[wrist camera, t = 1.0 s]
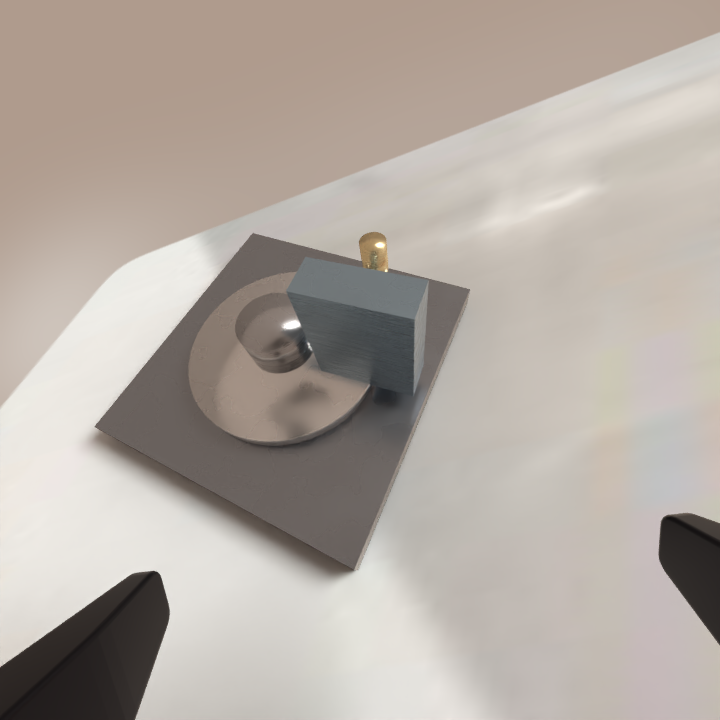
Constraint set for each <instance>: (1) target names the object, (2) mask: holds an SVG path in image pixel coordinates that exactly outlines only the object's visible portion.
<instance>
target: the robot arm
mask: <svg viewBox="0 0 720 720" xmlns="http://www.w3.org/2000/svg"><path fill="white" fill-rule="evenodd" d="M659 560H660V562H661V565H662V567H663V569H664V571H665V572H666V573H667V575H668V576H669V578H670V579H671V580H672V582H673V583H674V584H675V586H676V587H677V588H678V590H679V591H680V592H681V594H682V595H683V596H684V598H685V599H686V600H687V602H688V603H689V604H690V606H691V607H692V609H693V610H694V611H695V613H696V614H697V615H698V617H699V618H700V619H701V621H702V622H703V623H704V625H705V626H706V627H707V629H708V630H709V631H710V633H711V634H712V635H713V637H714V638H715V639H716V641H717V642H718V644H719V645H720V523H717V522H715V521H712V520H709V519H706V518H703V517H700V516H698V515H695V514H691V513H681V514H672V515H667V516H665V517H663V519H662V520H661V527H660V540H659ZM169 615H170V610H169V604H168V601H167V597H166V593H165V590H164V586H163V582H162V578H161V576H160V574H159V573H158V572H156V571H148V572H139V573H134V574H132V575H130V576H128V577H127V578H126V579H124V580H123V581H121V582H120V583H118V584H117V585H116V586H114V587H113V588H111V589H110V590H109V591H107V592H106V593H104V594H103V595H102V596H100V597H99V598H97V599H96V600H94V601H93V602H92V603H90V604H89V605H87V606H86V607H85V608H83V609H82V610H80V611H79V612H78V613H76V614H75V615H73V616H72V617H70V618H69V619H68V620H66V621H65V622H63V623H62V624H61V625H59V626H58V627H56V628H55V629H54V630H52V631H51V632H49V633H48V634H46V635H45V636H44V637H42V638H41V639H39V640H38V641H37V642H35V643H34V644H32V645H31V646H30V647H28V648H27V649H25V650H24V651H22V652H21V653H20V654H18V655H17V656H15V657H14V658H13V659H11V660H10V661H8V662H7V663H6V664H4V665H3V666H1V667H0V720H135V718H136V715H137V713H138V710H139V707H140V704H141V701H142V698H143V695H144V692H145V689H146V687H147V684H148V681H149V678H150V675H151V672H152V669H153V666H154V663H155V660H156V657H157V655H158V652H159V649H160V646H161V643H162V640H163V637H164V634H165V631H166V628H167V625H168V622H169Z"/></svg>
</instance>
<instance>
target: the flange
mask: <svg viewBox="0 0 720 720" xmlns="http://www.w3.org/2000/svg"><path fill="white" fill-rule="evenodd" d="M428 284H429V280H426V279H420V278H415V277H410V276H405V275H399V274H394V273H389V272H383V271H378V270H373V269H367V268H362V267H357V266H351V265H346V264H341V263H335V262H330V261H325V260H320V259H314V258H309V257H305V259H304V260H303V262H302V264H301V266H300V267H299V269H298V271H297V272H288V273H282V274H277V275H273V276H269V277H266V278H263V279H260V280H258V281H255V282H253V283H251V284H249V285H247V286H245V287H243V288H242V289H240V290H238V291H237V292H235V293H234V294H232V295H231V296H230V297H228V298H227V299H226V300H225V301H224V302H222V303H221V304H220V305H219V306H218V307H217V308H216V309H215V310H214V311H213V312H212V313H211V315H210V316H209V317H208V319H207V320H206V321H205V323H204V324H203V326H202V327H201V329H200V331H199V332H198V334H197V337H196V339H195V341H194V343H193V347H192V350H191V353H190V359H189V374H188V376H189V382H190V388H191V391H192V394H193V397H194V399H195V401H196V403H197V405H198V406H199V408H200V409H201V410H202V412H203V413H204V414H205V415H206V416H207V417H208V418H209V419H210V420H211V421H212V422H213V423H214V424H216V425H217V426H218V427H220V428H221V429H222V430H224V431H225V432H227V433H228V434H230V435H232V436H234V437H236V438H238V439H240V440H243V441H246V442H250V443H254V444H260V445H268V446H274V445H288V444H295V443H299V442H303V441H306V440H310V439H312V438H315V437H317V436H320V435H322V434H324V433H326V432H328V431H329V430H331V429H333V428H335V427H336V426H338V425H339V424H340V423H342V422H343V421H344V420H346V419H347V418H348V417H349V416H350V415H351V414H352V413H353V412H354V411H356V410H357V408H358V407H359V406H360V405H361V404H362V402H363V401H364V400H365V399H366V397H367V395H368V394H369V392H370V391H371V389H372V387H373V385H374V386H378V387H381V388H385V389H388V390H392V391H395V392H399V393H403V394H406V395H410V396H414V393H415V390H416V387H417V384H418V381H419V378H420V375H421V371H422V368H423V364H424V348H425V332H426V316H427V300H428Z"/></svg>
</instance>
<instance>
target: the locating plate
mask: <svg viewBox="0 0 720 720" xmlns="http://www.w3.org/2000/svg"><path fill="white" fill-rule="evenodd" d="M359 246H360V253H361V259H362V261H358V260H354V259H350V258H347V257H343V256H339V255H335V254H331V253H327V252H323V251H319V250H316V249H312V248H308V247H304V246H300V245H296V244H292V243H289V242H285V241H281V240H277V239H273V238H269V237H265V236H262V235H258V234H254V233H253V234H252V235H251V236H250V237H249V238H248V240H247V241H246V242H245V243H244V245H243V246H242V247H241V248H240V249H239V251H238V252H237V253H236V254H235V256H234V257H233V258H232V259H231V260H230V262H229V263H228V264H227V265H226V267H225V268H224V269H223V270H222V272H221V273H220V274H219V275H218V276H217V278H216V279H215V280H214V281H213V283H212V284H211V285H210V286H209V287H208V289H207V290H206V291H205V292H204V294H203V295H202V296H201V297H200V298H199V300H198V301H197V302H196V303H195V305H194V306H193V307H192V308H191V309H190V311H189V312H188V313H187V314H186V316H185V317H184V318H183V319H182V320H181V322H180V323H179V324H178V325H177V327H176V328H175V329H174V330H173V331H172V333H171V334H170V335H169V336H168V338H167V339H166V340H165V341H164V342H163V344H162V345H161V346H160V347H159V349H158V350H157V351H156V352H155V353H154V355H153V356H152V357H151V358H150V360H149V361H148V362H147V363H146V364H145V366H144V367H143V368H142V369H141V371H140V372H139V373H138V374H137V375H136V377H135V378H134V379H133V380H132V382H131V383H130V384H129V385H128V386H127V388H126V389H125V390H124V391H123V393H122V394H121V395H120V396H119V398H118V399H117V400H116V401H115V402H114V404H113V405H112V406H111V407H110V409H109V410H108V411H107V412H106V413H105V415H104V416H103V417H102V418H101V420H100V421H99V422H98V423H97V424H96V426H95V427H96V428H97V429H99V430H101V431H103V432H105V433H107V434H108V435H110V436H112V437H114V438H116V439H117V440H119V441H121V442H123V443H125V444H127V445H128V446H130V447H132V448H134V449H136V450H137V451H139V452H141V453H143V454H145V455H146V456H148V457H150V458H152V459H154V460H156V461H157V462H159V463H161V464H163V465H165V466H166V467H168V468H170V469H172V470H174V471H175V472H177V473H179V474H181V475H183V476H185V477H186V478H188V479H190V480H192V481H194V482H195V483H197V484H199V485H201V486H203V487H204V488H206V489H208V490H210V491H212V492H214V493H215V494H217V495H219V496H221V497H223V498H224V499H226V500H228V501H230V502H232V503H233V504H235V505H237V506H239V507H241V508H243V509H244V510H246V511H248V512H250V513H252V514H253V515H255V516H257V517H259V518H261V519H262V520H264V521H266V522H268V523H270V524H272V525H273V526H275V527H277V528H279V529H281V530H282V531H284V532H286V533H288V534H290V535H291V536H293V537H295V538H297V539H299V540H301V541H302V542H304V543H306V544H308V545H310V546H311V547H313V548H315V549H317V550H319V551H320V552H322V553H324V554H326V555H328V556H330V557H331V558H333V559H335V560H337V561H339V562H340V563H342V564H344V565H346V566H348V567H349V568H351V569H353V570H358V569H359V567H360V564H361V562H362V559H363V557H364V554H365V552H366V550H367V547H368V545H369V542H370V540H371V537H372V535H373V532H374V530H375V528H376V525H377V523H378V520H379V518H380V515H381V513H382V510H383V508H384V506H385V503H386V501H387V498H388V496H389V493H390V491H391V488H392V486H393V483H394V481H395V479H396V476H397V474H398V471H399V469H400V466H401V464H402V461H403V459H404V457H405V454H406V452H407V449H408V447H409V444H410V442H411V439H412V437H413V435H414V432H415V430H416V427H417V425H418V422H419V420H420V417H421V415H422V412H423V410H424V408H425V405H426V403H427V400H428V398H429V395H430V393H431V390H432V388H433V386H434V383H435V381H436V378H437V376H438V373H439V371H440V368H441V366H442V364H443V361H444V359H445V356H446V354H447V351H448V349H449V346H450V344H451V342H452V339H453V337H454V334H455V332H456V329H457V327H458V324H459V322H460V319H461V317H462V315H463V312H464V310H465V307H466V305H467V301H468V296H469V292H470V289H466V288H462V287H459V286H455V285H451V284H447V283H443V282H439V281H435V280H432V279H428V278H424V277H420V276H416V275H412V274H408V273H404V272H401V271H397V270H393V269H389V268H388V257H387V244H386V238H385V236H384V235H383V234H381V233H378V232H371V233H367V234H365V235H363V236H362V237H361V239H360V241H359ZM305 257H309V258H314V259H320V260H325V261H330V262H335V263H341V264H346V265H351V266H357V267H362V268H367V269H373V270H378V271H383V272H389V273H394V274H399V275H405V276H410V277H415V278H420V279H426V280H429V284H428V300H427V316H426V332H425V348H424V364H423V368H422V371H421V375H420V378H419V381H418V384H417V387H416V390H415V393H414V396H410V395H406V394H403V393H399V392H395V391H392V390H388V389H385V388H381V387H378V386H374V385H373V387H372V389H371V391H370V392H369V394H368V395H367V397H366V399H365V400H364V401H363V402H362V404H361V405H360V406H359V407H358V408H357V410H356V411H354V412H353V413H352V414H351V415H350V416H349V417H348V418H347V419H346V420H344V421H343V422H342V423H340V424H339V425H338V426H336V427H335V428H333V429H331V430H329V431H328V432H326V433H324V434H322V435H320V436H317V437H315V438H312V439H310V440H306V441H303V442H299V443H295V444H288V445H274V446H268V445H260V444H254V443H250V442H246V441H243V440H240V439H238V438H236V437H234V436H232V435H230V434H228V433H227V432H225V431H224V430H222V429H221V428H220V427H218V426H217V425H216V424H214V423H213V422H212V421H211V420H210V419H209V418H208V417H207V416H206V415H205V414H204V413H203V412H202V410H201V409H200V408H199V406H198V405H197V403H196V401H195V399H194V397H193V394H192V391H191V388H190V382H189V376H188V374H189V359H190V353H191V350H192V347H193V343H194V341H195V339H196V337H197V334H198V332H199V331H200V329H201V327H202V326H203V324H204V323H205V321H206V320H207V319H208V317H209V316H210V315H211V313H212V312H213V311H214V310H215V309H216V308H217V307H218V306H219V305H220V304H221V303H222V302H224V301H225V300H226V299H227V298H228V297H230V296H231V295H232V294H234V293H235V292H237V291H238V290H240V289H242V288H243V287H245V286H247V285H249V284H251V283H253V282H255V281H258V280H260V279H263V278H266V277H269V276H273V275H277V274H282V273H288V272H297V271H298V269H299V267H300V266H301V264H302V262H303V260H304V259H305Z"/></svg>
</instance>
